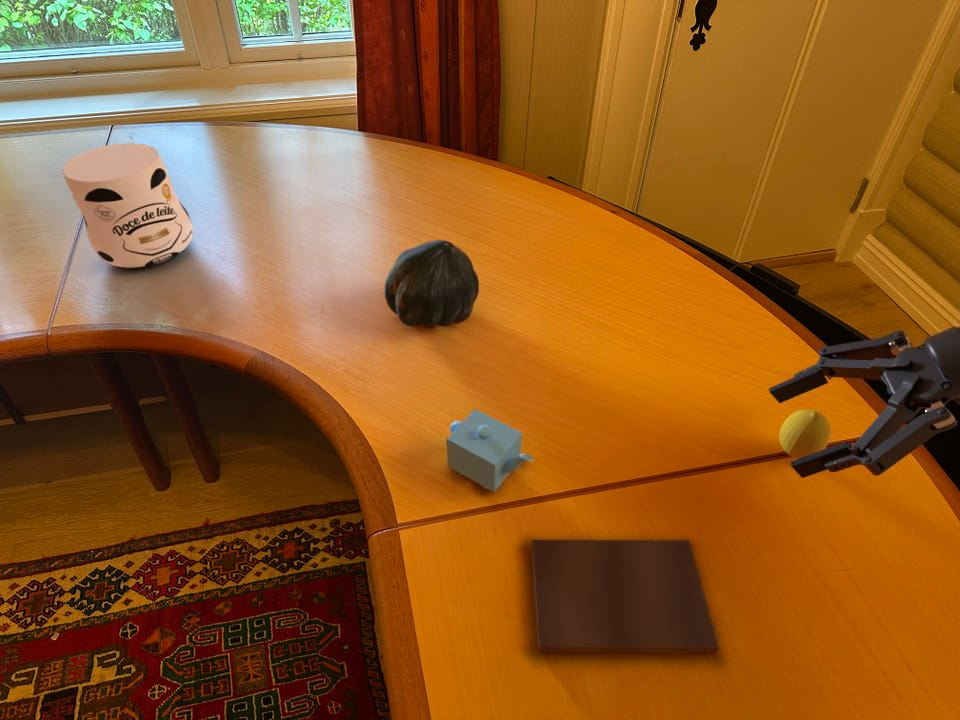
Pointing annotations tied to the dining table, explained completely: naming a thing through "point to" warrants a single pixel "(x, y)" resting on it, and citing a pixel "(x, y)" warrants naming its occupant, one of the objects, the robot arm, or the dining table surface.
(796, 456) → the lemon
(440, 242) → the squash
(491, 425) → the knobbed blue-grey cube
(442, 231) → the dining table surface
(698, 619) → the cutting board
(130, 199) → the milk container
